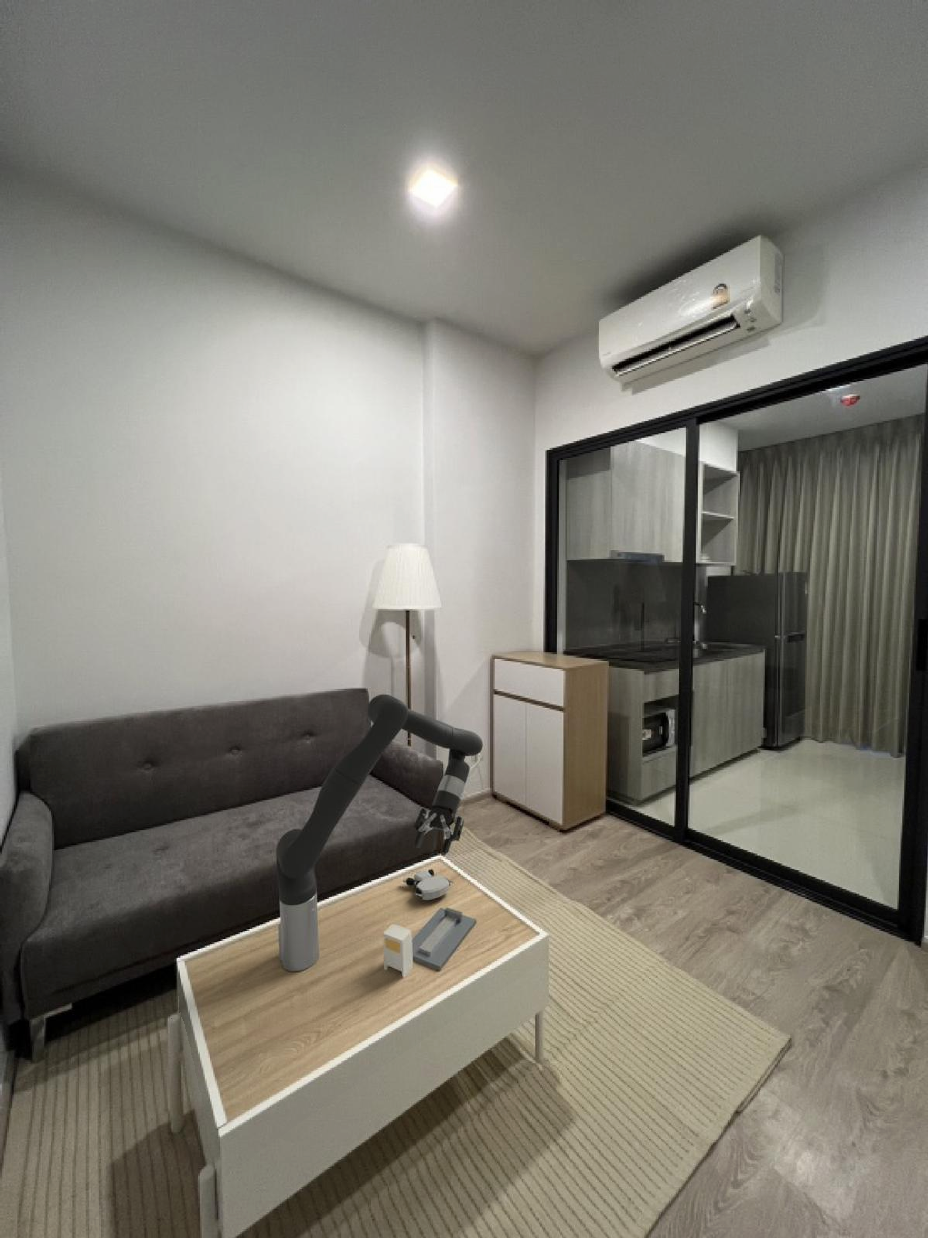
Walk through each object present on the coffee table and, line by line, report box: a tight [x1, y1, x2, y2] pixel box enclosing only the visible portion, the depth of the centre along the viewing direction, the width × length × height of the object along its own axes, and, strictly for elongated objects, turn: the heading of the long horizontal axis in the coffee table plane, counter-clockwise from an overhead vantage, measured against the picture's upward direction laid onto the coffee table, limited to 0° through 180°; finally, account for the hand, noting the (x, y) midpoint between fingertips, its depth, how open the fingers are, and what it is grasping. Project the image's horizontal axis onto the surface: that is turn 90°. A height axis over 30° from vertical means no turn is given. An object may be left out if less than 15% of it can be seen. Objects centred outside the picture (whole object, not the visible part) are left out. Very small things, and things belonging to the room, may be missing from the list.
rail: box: [419, 907, 463, 956], centre depth 133 cm, size 5×16×2 cm, turn 152°
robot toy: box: [402, 868, 456, 901], centre depth 155 cm, size 12×4×15 cm
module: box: [382, 923, 414, 978], centre depth 123 cm, size 6×4×9 cm
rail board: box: [412, 907, 477, 971], centre depth 133 cm, size 12×20×1 cm, turn 152°
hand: (430, 850), depth 135 cm, fingers open, 8 cm apart
